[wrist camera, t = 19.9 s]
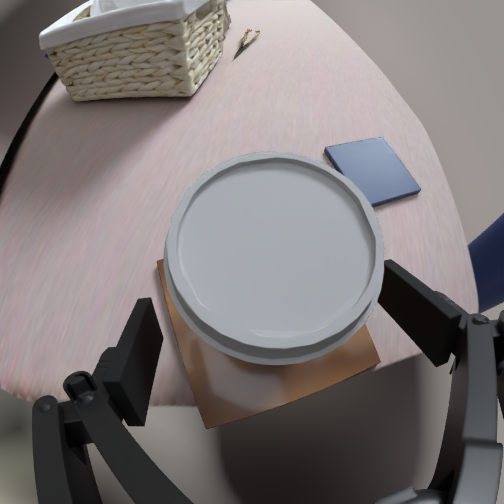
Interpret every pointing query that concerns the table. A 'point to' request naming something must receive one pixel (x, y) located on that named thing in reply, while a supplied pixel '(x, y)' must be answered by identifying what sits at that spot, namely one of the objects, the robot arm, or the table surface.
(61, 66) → the basket
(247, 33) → the yellow dark forked piece
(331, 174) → the disposable coffee cup
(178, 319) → the brown wood grain mat
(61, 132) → the table surface
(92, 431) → the robot arm
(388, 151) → the blue mat
